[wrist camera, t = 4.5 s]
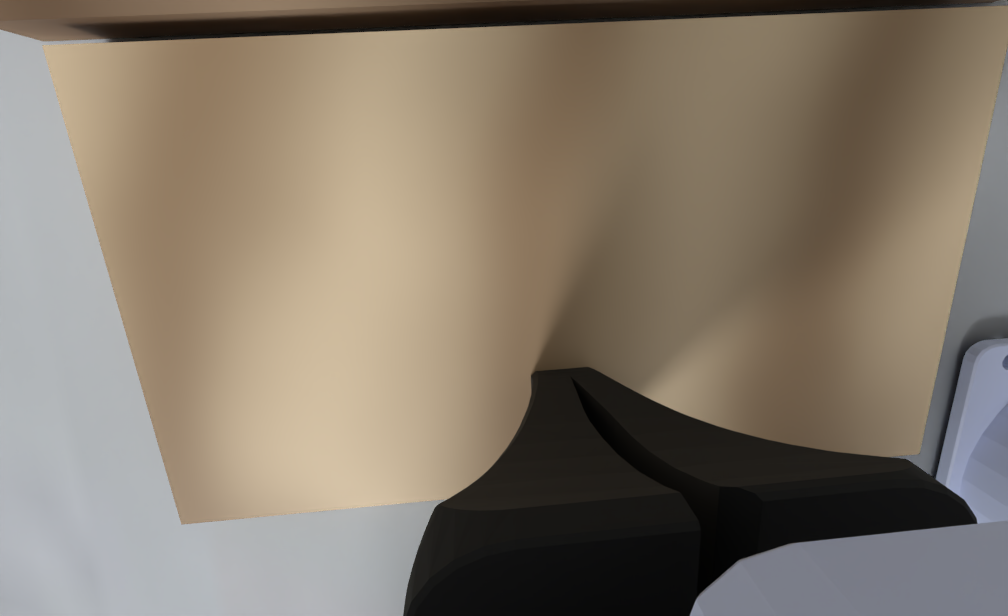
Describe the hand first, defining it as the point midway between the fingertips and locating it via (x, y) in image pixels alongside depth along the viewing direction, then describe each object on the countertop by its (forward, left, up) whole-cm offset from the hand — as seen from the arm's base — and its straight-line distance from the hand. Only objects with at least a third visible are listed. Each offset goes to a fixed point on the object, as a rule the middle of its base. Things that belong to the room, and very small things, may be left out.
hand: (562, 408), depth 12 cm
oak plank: (0, -3, -1) cm, 3 cm away
